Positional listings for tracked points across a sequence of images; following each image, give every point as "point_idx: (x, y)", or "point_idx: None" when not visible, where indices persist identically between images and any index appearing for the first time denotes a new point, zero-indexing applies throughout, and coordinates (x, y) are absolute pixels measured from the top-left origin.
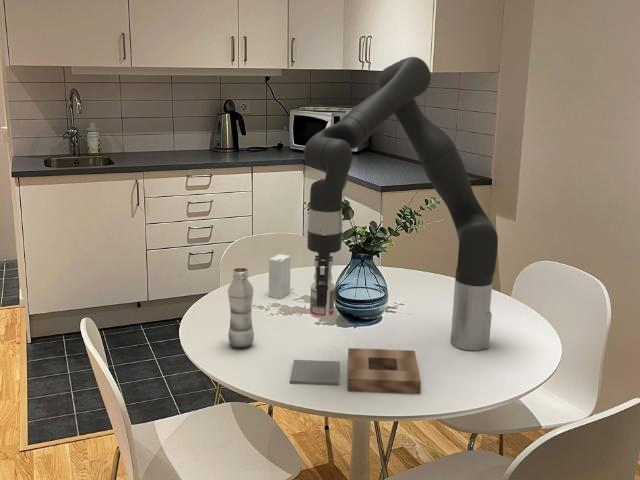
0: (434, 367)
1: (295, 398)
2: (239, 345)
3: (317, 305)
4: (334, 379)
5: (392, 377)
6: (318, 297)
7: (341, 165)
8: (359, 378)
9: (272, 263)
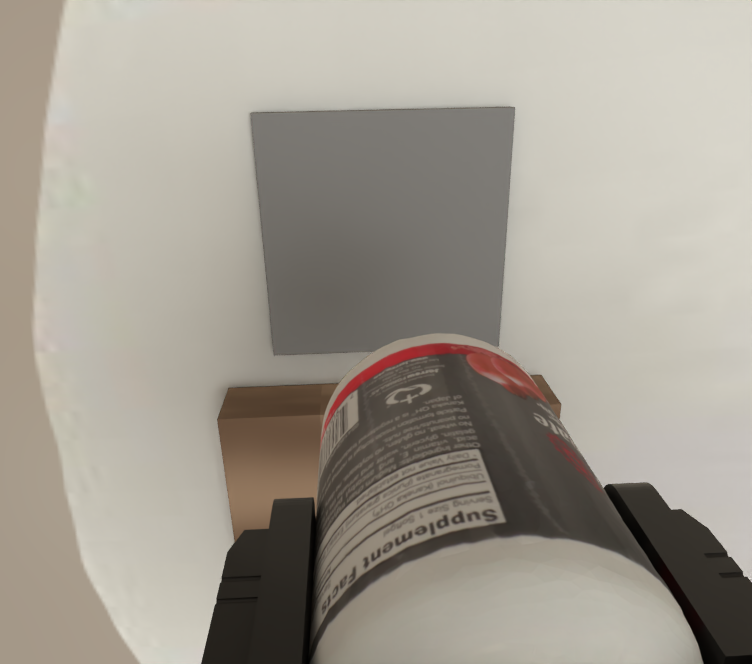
0: None
1: (97, 160)
2: None
3: (277, 501)
4: (303, 335)
5: None
6: (214, 613)
7: None
8: (228, 465)
9: None
